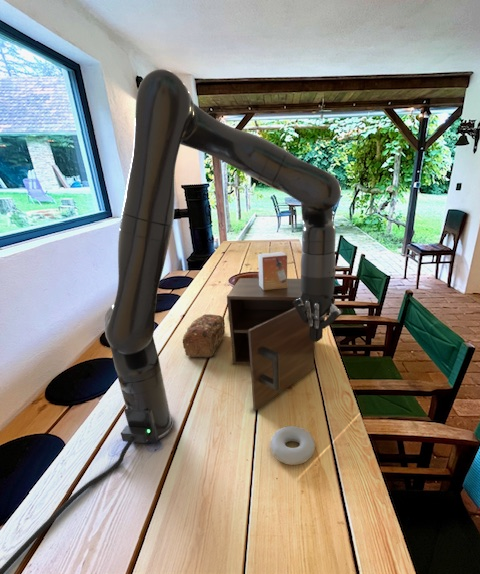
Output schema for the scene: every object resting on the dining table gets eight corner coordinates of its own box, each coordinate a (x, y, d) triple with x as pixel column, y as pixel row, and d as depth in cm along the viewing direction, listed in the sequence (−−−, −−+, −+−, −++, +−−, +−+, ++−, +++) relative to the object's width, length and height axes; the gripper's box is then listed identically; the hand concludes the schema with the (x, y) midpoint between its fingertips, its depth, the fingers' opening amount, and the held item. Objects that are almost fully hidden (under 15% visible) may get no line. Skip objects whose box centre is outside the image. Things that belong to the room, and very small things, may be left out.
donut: (323, 447, 73) (287, 427, 79) (323, 435, 72) (287, 416, 78) (298, 477, 66) (261, 453, 72) (298, 465, 65) (260, 441, 71)
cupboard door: (329, 375, 98) (332, 303, 88) (271, 421, 81) (268, 338, 71) (311, 368, 102) (313, 298, 92) (253, 409, 85) (247, 329, 75)
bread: (213, 359, 110) (209, 332, 106) (183, 357, 111) (179, 331, 107) (227, 334, 127) (224, 310, 122) (201, 333, 128) (197, 310, 124)
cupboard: (312, 368, 103) (314, 297, 93) (233, 364, 106) (226, 296, 96) (313, 341, 119) (314, 278, 109) (244, 338, 122) (239, 278, 113)
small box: (263, 291, 99) (261, 257, 95) (258, 285, 104) (257, 253, 100) (287, 288, 101) (287, 254, 97) (282, 282, 106) (282, 251, 102)
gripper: (284, 270, 73) (285, 337, 80) (334, 281, 65) (330, 355, 72) (304, 263, 78) (303, 327, 85) (353, 272, 69) (347, 342, 77)
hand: (315, 340), depth 78 cm, fingers closed
